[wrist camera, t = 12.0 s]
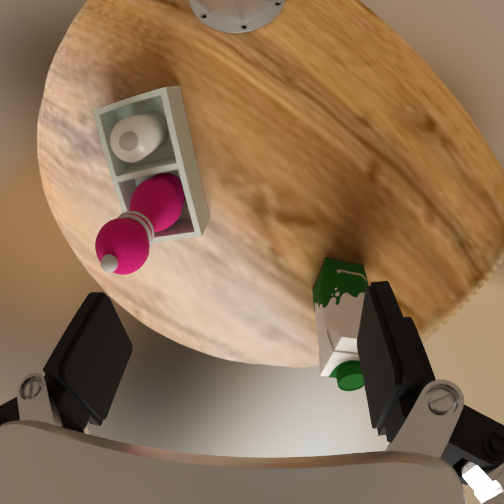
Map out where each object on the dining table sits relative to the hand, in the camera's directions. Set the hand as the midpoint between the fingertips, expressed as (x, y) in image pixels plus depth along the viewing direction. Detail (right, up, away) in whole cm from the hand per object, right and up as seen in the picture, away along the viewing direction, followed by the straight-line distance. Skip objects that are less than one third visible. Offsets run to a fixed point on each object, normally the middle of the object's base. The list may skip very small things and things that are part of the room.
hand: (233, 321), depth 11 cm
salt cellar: (-14, +19, +29) cm, 37 cm away
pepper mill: (-12, +11, +34) cm, 38 cm away
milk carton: (+15, -2, +41) cm, 44 cm away
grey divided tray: (-13, +16, +32) cm, 38 cm away
